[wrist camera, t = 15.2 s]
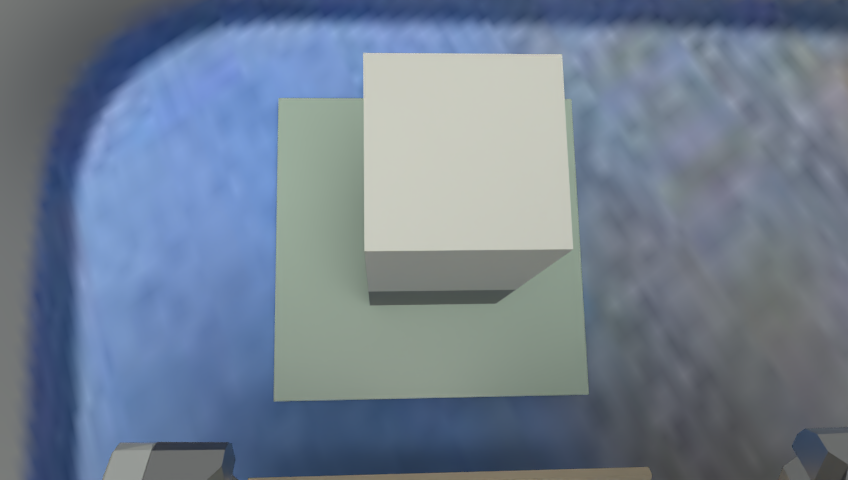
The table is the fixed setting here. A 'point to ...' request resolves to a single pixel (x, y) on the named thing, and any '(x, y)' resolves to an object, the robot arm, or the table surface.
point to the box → (463, 175)
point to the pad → (399, 324)
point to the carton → (499, 475)
